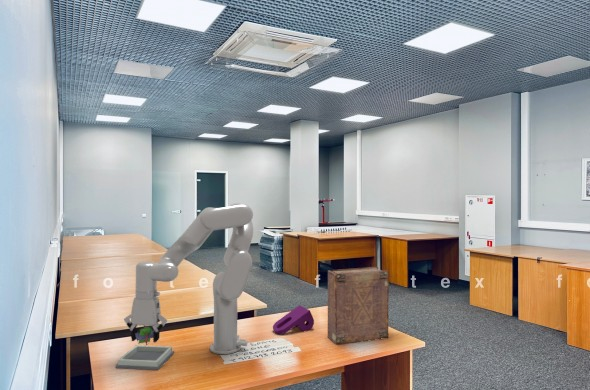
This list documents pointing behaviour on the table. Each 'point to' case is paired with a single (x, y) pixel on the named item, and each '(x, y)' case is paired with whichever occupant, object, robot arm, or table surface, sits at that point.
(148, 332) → the geometric puzzle
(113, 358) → the table surface
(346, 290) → the book
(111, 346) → the table surface
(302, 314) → the mounting bracket
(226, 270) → the robot arm
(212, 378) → the table surface
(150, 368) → the shallow square tray
